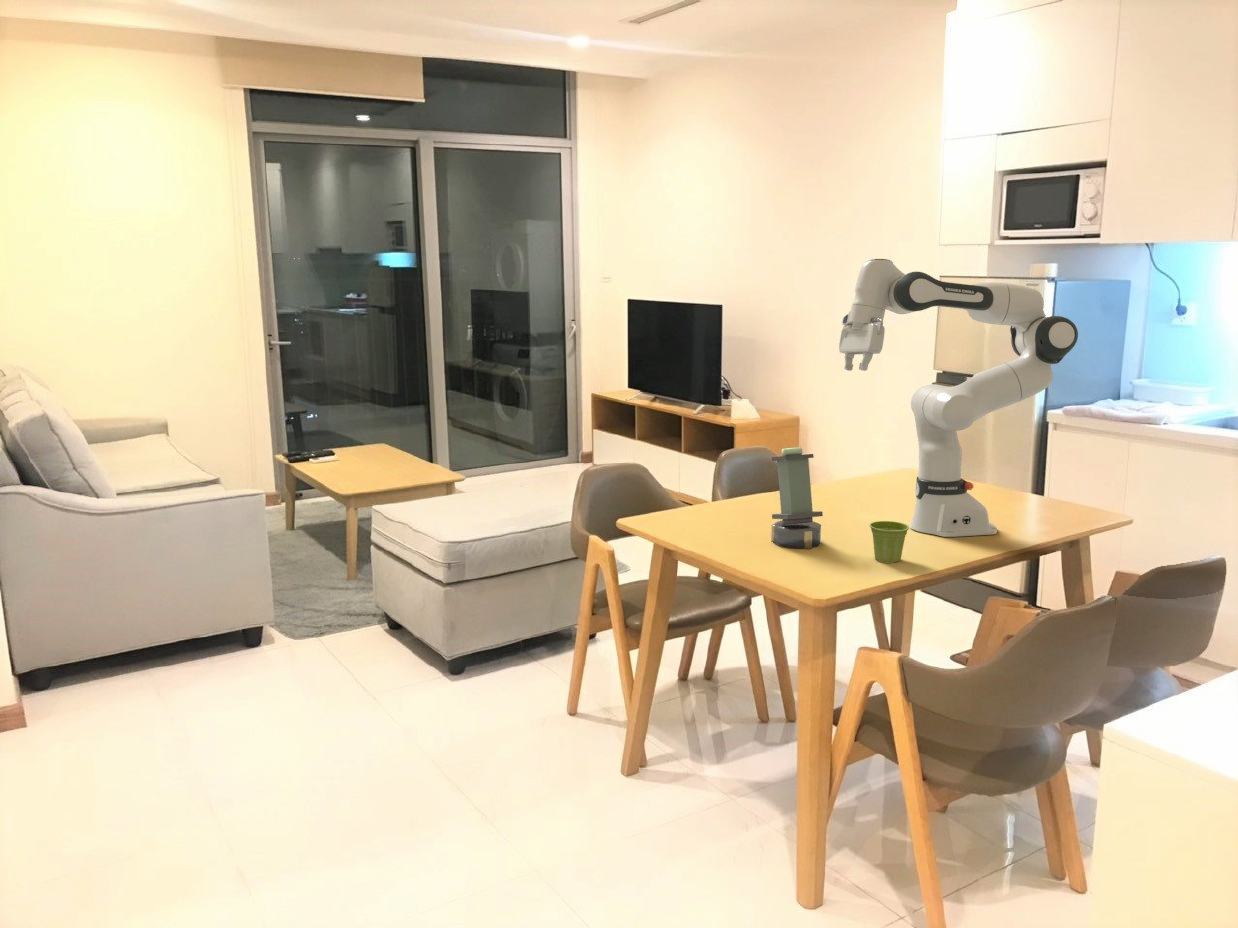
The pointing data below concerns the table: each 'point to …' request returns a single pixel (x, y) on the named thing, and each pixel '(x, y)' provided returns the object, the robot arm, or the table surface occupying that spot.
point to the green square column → (794, 487)
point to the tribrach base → (796, 535)
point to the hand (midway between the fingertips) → (855, 370)
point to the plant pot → (888, 540)
